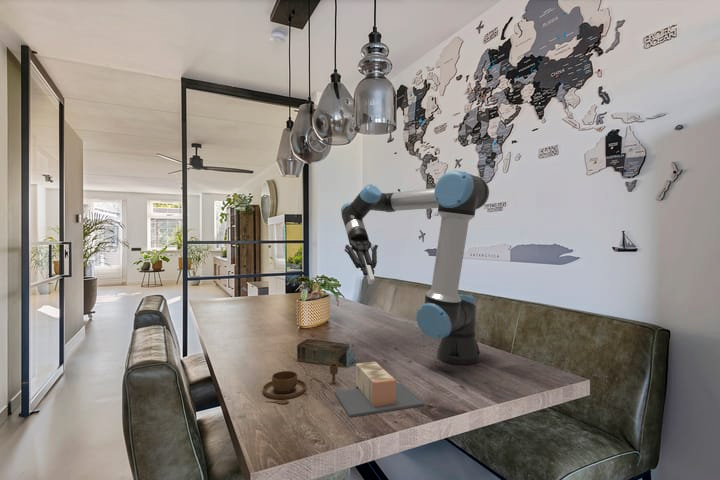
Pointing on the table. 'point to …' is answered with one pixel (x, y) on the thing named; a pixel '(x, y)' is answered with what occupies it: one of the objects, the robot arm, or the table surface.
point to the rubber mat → (360, 405)
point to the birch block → (376, 384)
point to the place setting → (290, 384)
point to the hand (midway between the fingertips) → (371, 281)
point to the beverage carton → (325, 352)
